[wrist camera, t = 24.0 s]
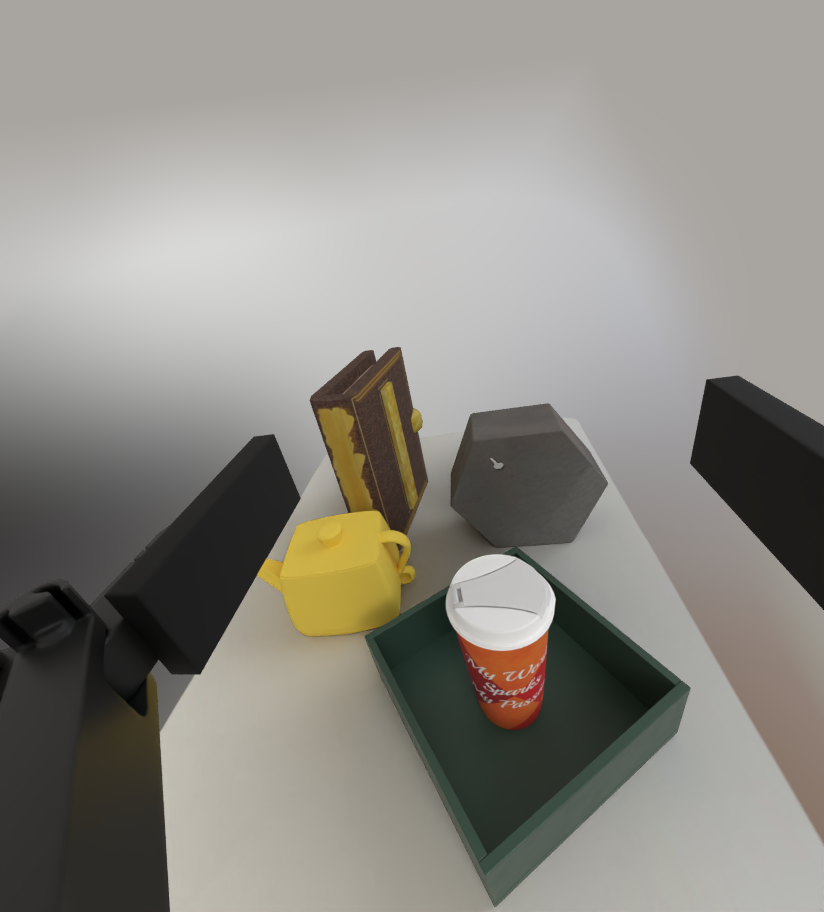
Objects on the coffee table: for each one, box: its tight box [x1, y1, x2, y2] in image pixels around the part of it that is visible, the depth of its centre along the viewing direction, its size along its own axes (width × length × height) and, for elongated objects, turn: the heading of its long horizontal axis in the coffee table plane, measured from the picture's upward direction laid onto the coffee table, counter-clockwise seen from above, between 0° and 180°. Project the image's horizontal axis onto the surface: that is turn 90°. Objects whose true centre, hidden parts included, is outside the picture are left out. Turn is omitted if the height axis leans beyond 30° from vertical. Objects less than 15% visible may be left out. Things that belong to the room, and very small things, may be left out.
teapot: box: [257, 511, 415, 636], centre depth 49 cm, size 20×12×12 cm, turn 91°
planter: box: [451, 404, 608, 548], centre depth 53 cm, size 17×8×21 cm
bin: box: [365, 547, 690, 907], centre depth 36 cm, size 19×19×7 cm
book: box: [310, 347, 428, 550], centre depth 60 cm, size 22×8×25 cm, turn 164°
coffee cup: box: [446, 554, 556, 730], centre depth 33 cm, size 8×8×15 cm
